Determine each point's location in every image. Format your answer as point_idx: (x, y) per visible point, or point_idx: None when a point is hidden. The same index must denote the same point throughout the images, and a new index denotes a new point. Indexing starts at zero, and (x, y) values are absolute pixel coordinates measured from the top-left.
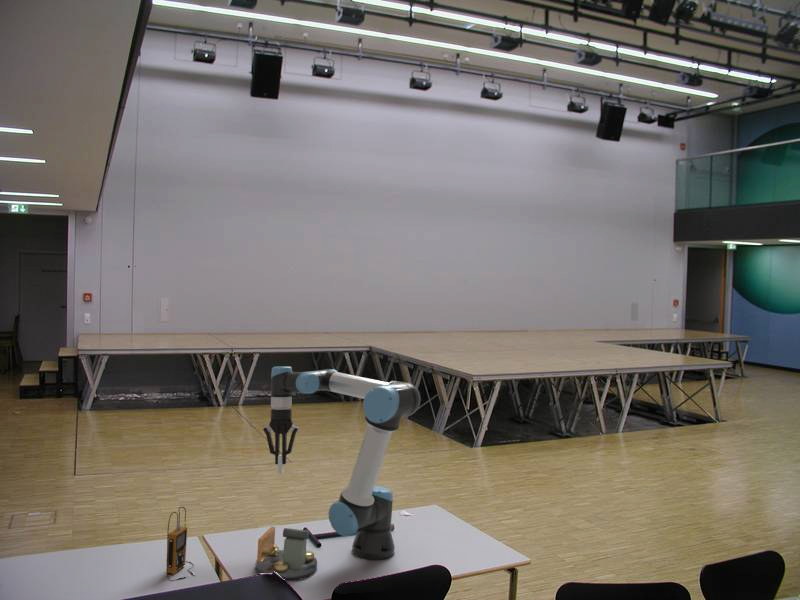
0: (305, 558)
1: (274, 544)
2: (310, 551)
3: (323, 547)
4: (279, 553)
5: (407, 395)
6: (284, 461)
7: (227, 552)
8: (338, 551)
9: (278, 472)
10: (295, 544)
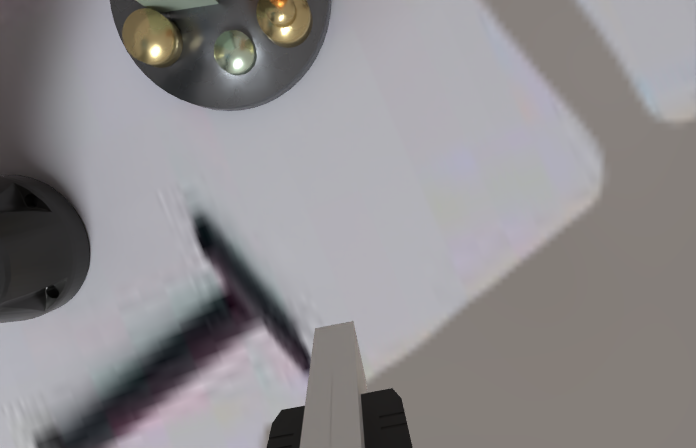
0: (145, 6)
1: (278, 22)
2: (145, 60)
3: (182, 221)
4: (273, 56)
5: None
6: (282, 435)
7: (478, 48)
8: (123, 206)
9: (347, 329)
10: None
